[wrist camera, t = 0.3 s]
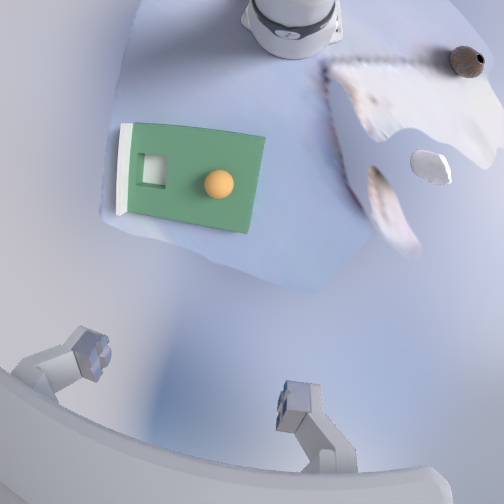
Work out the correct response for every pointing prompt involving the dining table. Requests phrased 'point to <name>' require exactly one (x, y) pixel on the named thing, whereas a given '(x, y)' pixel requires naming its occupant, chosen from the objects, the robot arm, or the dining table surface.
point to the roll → (431, 167)
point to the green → (186, 173)
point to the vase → (467, 62)
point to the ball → (219, 184)
